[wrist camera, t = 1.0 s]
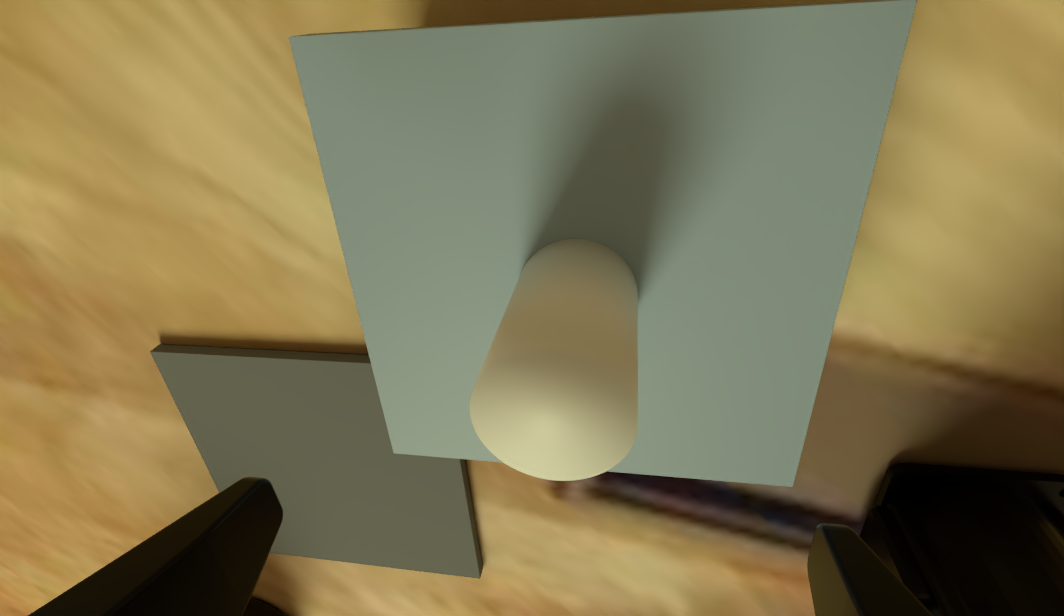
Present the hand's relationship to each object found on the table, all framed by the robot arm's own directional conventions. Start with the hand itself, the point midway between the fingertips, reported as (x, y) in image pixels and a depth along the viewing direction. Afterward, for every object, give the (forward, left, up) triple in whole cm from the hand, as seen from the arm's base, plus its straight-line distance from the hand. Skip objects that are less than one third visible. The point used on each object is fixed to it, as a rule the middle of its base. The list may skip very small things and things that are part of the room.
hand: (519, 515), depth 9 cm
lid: (0, 0, -8) cm, 8 cm away
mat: (+13, +13, -12) cm, 22 cm away
